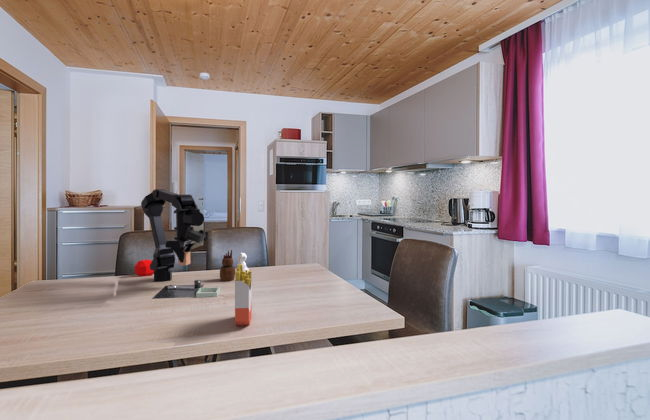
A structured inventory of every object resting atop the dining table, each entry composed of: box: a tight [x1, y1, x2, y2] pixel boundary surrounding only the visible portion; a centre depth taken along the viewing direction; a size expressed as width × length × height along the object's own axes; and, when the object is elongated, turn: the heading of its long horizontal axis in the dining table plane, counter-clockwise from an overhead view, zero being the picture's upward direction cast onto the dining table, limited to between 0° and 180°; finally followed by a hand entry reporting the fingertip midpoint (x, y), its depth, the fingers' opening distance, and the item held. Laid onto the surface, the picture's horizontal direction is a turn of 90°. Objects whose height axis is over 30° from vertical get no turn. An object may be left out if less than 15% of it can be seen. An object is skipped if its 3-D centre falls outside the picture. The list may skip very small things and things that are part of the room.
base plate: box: [151, 284, 205, 300], centre depth 139 cm, size 16×18×1 cm
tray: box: [195, 286, 221, 298], centre depth 135 cm, size 8×8×2 cm
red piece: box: [134, 258, 154, 278], centre depth 165 cm, size 8×8×8 cm
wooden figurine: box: [219, 249, 236, 282], centre depth 156 cm, size 7×6×15 cm
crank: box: [167, 279, 202, 290], centre depth 141 cm, size 14×4×4 cm, turn 83°
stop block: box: [177, 252, 191, 266], centre depth 144 cm, size 4×4×5 cm
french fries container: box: [234, 263, 253, 326], centre depth 109 cm, size 5×11×18 cm, turn 7°
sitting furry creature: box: [235, 252, 250, 278], centre depth 166 cm, size 10×9×12 cm
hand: (184, 261), depth 144 cm, fingers closed on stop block, 3 cm apart
